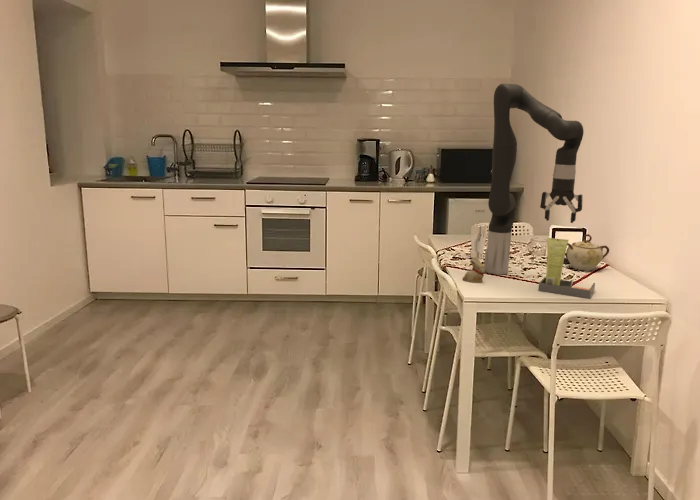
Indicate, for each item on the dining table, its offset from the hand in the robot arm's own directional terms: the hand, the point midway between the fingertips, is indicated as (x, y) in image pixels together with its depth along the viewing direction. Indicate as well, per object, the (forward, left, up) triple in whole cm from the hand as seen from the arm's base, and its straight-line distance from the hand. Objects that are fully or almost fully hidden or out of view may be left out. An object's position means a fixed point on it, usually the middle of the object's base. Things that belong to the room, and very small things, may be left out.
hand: (559, 221), depth 220 cm
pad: (+9, +5, -26) cm, 28 cm away
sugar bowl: (+5, +42, -26) cm, 50 cm away
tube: (0, 0, -26) cm, 26 cm away
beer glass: (-40, +35, -26) cm, 59 cm away
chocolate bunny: (-29, -5, -26) cm, 39 cm away
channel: (+5, +1, -26) cm, 26 cm away
